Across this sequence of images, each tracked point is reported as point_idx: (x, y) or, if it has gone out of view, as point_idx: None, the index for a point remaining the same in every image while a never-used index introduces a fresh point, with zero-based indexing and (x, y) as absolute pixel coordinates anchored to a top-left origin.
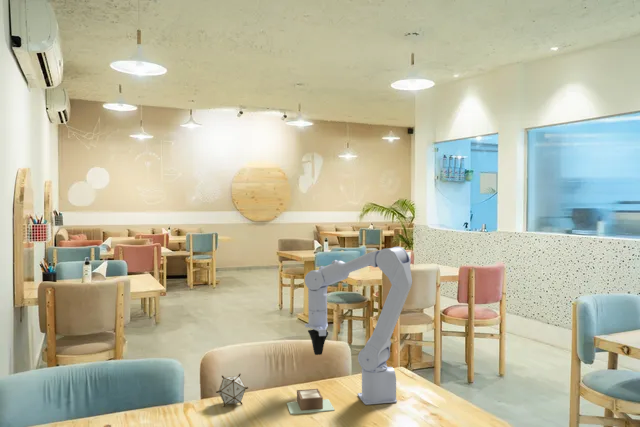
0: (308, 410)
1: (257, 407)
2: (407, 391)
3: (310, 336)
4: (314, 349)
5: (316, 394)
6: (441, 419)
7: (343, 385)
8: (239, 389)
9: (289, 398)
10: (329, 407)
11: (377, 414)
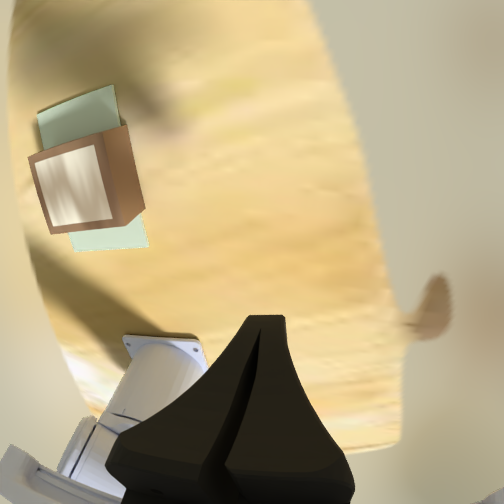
0: None
1: None
2: None
3: (285, 423)
4: (230, 342)
5: (69, 215)
6: (95, 410)
7: (303, 319)
8: None
9: (167, 88)
10: (84, 239)
11: (81, 338)
